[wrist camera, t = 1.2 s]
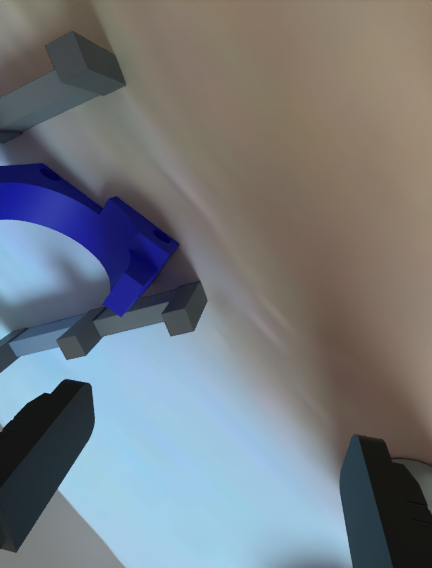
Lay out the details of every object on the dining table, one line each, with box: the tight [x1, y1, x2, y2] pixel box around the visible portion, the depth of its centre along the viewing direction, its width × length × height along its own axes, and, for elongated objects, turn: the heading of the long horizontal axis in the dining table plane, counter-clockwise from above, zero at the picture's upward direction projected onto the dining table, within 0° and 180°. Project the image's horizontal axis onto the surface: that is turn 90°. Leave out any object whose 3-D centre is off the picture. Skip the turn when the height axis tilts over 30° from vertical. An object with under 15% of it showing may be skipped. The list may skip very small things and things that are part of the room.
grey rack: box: [0, 31, 208, 373], centre depth 25 cm, size 20×18×5 cm
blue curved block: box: [0, 163, 180, 317], centre depth 24 cm, size 12×4×6 cm, turn 54°
